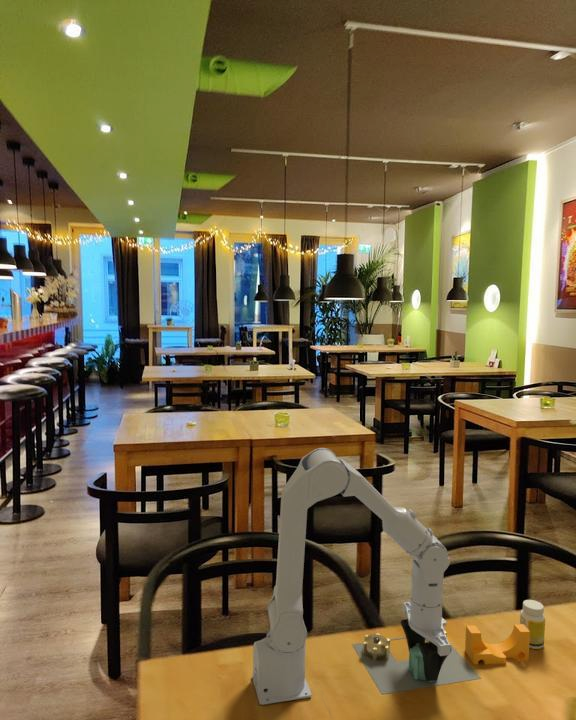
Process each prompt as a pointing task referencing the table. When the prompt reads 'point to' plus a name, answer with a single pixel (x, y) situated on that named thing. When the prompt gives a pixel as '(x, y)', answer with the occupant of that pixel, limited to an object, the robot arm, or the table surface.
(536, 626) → the supplement bottle
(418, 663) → the teal gear
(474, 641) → the pipe clamp
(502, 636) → the table surface
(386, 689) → the gear board
